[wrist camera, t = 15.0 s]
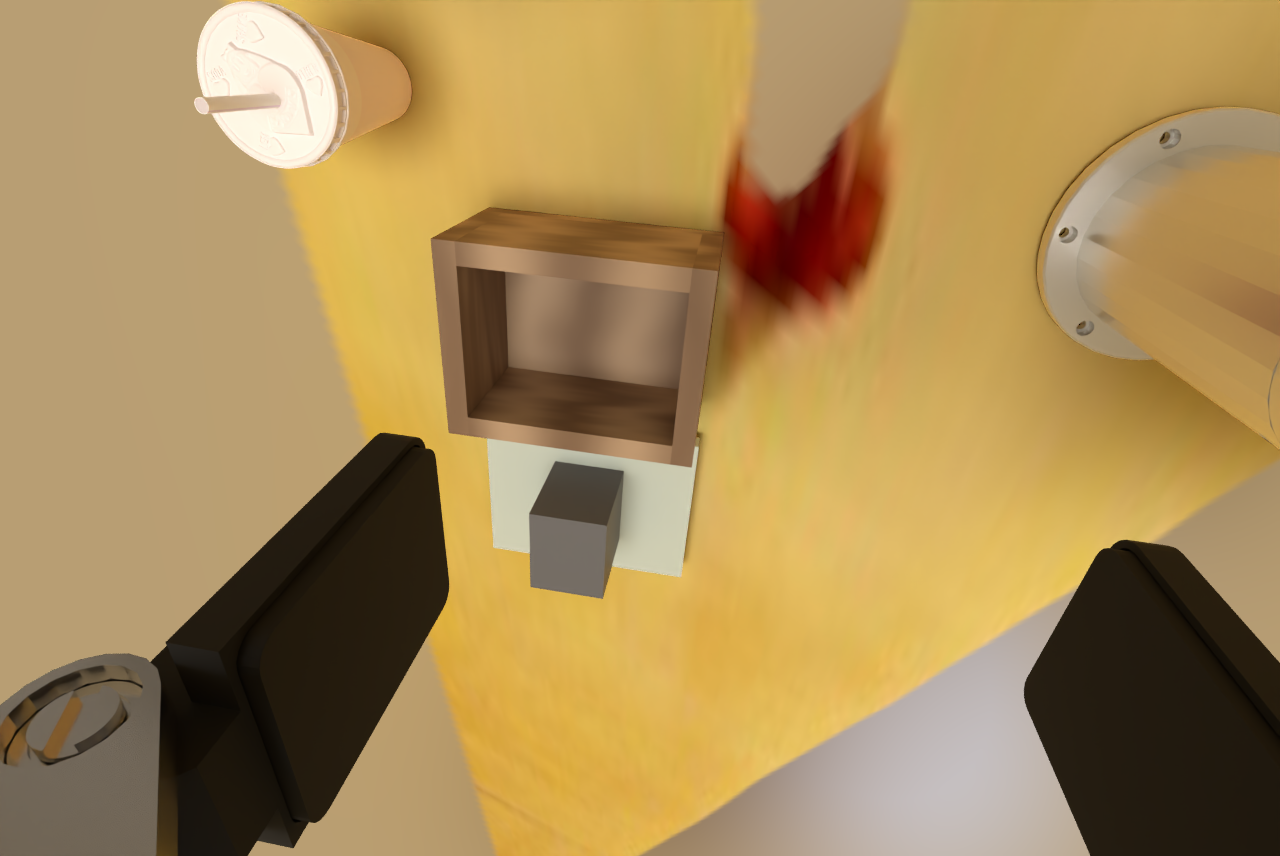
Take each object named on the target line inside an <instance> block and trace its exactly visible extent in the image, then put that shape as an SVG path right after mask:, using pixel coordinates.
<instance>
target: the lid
mask: <svg viewBox="0 0 1280 856" xmlns="http://www.w3.org/2000/svg"><path fill="white" fill-rule="evenodd" d="M699 442H700V438H698V437H696V442H695V449H694V456H693V463H692V468H691V467H684V466H677V465H670V464H663V463H656V462H649V461H642V460H635V459H628V458H621V457H614V456H607V455H600V454H593V453H586V452H579V451H572V450H565V449H558V448H551V447H544V446H537V445H530V444H523V443H516V442H509V441H502V440H495V439H488V438H487V446H488V463H489V479H490V496H491V513H492V529H493V546H494V548H499V549H506V550H512V551H518V552H525V553H530V579H531V587H534V588H540V589H547V590H553V591H559V592H565V593H571V594H577V595H583V596H589V597H596V598H602V599H603V596H604V593H605V589H606V585H607V582H608V578H609V574H610V571H611V567H612V566H613V567H619V568H626V569H632V570H638V571H645V572H651V573H657V574H664V575H670V576H676V577H681V574H682V566H683V559H684V552H685V544H686V537H687V530H688V523H689V515H690V508H691V501H692V494H693V486H694V479H695V472H696V464H697V457H698V450H699Z"/></svg>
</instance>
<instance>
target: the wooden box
mask: <svg viewBox="0 0 1280 856" xmlns="http://www.w3.org/2000/svg"><path fill="white" fill-rule="evenodd" d="M723 239H724V233H722V232H713V231H704V230H695V229H685V228H676V227H667V226H657V225H648V224H639V223H629V222H620V221H611V220H601V219H592V218H583V217H573V216H564V215H555V214H545V213H536V212H527V211H517V210H508V209H499V208H490V207H489V208H487V209H485V210H483V211H481V212H480V213H478V214H476V215H474V216H472V217H470V218H468V219H467V220H465V221H463V222H461V223H459V224H457V225H455V226H453V227H452V228H450V229H448V230H446V231H444V232H442V233H440V234H439V235H437V236H435V237H433V238H431V247H432V258H433V268H434V279H435V290H436V300H437V311H438V322H439V333H440V343H441V354H442V365H443V376H444V386H445V397H446V408H447V419H448V429H449V433H453V434H460V435H467V436H474V437H481V438H488V439H495V440H502V441H509V442H516V443H523V444H530V445H537V446H544V447H551V448H558V449H565V450H572V451H579V452H586V453H593V454H600V455H607V456H614V457H621V458H628V459H635V460H642V461H649V462H656V463H663V464H670V465H677V466H684V467H691V468H692V463H693V456H694V449H695V442H696V435H697V429H698V422H699V415H700V408H701V402H702V394H703V387H704V379H705V372H706V365H707V357H708V350H709V342H710V335H711V328H712V320H713V313H714V305H715V298H716V291H717V283H718V276H719V269H720V261H721V254H722V246H723Z"/></svg>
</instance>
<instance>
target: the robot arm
mask: <svg viewBox="0 0 1280 856" xmlns="http://www.w3.org/2000/svg"><path fill="white" fill-rule="evenodd" d="M1163 133H1165V138H1164V139H1163V140H1162V141H1161V142H1159V141H1160V138H1161V136H1162V135H1163ZM1064 228H1066V230H1065V232H1064V234H1062V235H1060V236H1059V233H1060V232H1061V230H1062V229H1064ZM1037 281H1038V286H1039V291H1040V295H1041V299H1042V301H1043V303H1044V305H1045V308H1046V310H1047V312H1048V314H1049V316H1050V317H1051V318H1052V319H1053V320H1054V322H1055V323H1056V324H1057V325H1058V326H1059V328H1060V329H1061V330H1062V331H1063V332H1064V333H1066V334H1067V335H1068V336H1069V337H1070V338H1071V339H1073V340H1074V341H1075V342H1077V343H1079V344H1081V345H1083V346H1084V347H1086V348H1088V349H1090V350H1091V351H1093V352H1097V353H1100V354H1103V355H1106V356H1109V357H1113V358H1120V359H1128V360H1156V361H1158V362H1159V363H1160V364H1162V365H1163V366H1165V367H1166V368H1167V369H1169V370H1170V371H1171V372H1173V373H1174V374H1176V375H1177V376H1178V377H1180V378H1181V379H1182V380H1184V381H1185V382H1187V383H1188V384H1189V385H1191V386H1192V387H1194V388H1195V389H1196V390H1198V391H1199V392H1200V393H1202V394H1203V395H1205V396H1206V397H1207V398H1209V399H1210V400H1212V401H1213V402H1214V403H1216V404H1217V405H1218V406H1220V407H1221V408H1223V409H1224V410H1225V411H1227V412H1228V413H1229V414H1231V415H1232V416H1234V417H1235V418H1236V419H1238V420H1239V421H1241V422H1242V423H1243V424H1245V425H1246V426H1247V427H1249V428H1250V429H1252V430H1253V431H1254V432H1256V433H1257V434H1259V435H1260V436H1261V437H1263V438H1264V439H1265V440H1267V441H1268V442H1270V443H1271V444H1273V445H1274V446H1275V447H1277V448H1278V449H1279V450H1280V115H1279V114H1277V113H1273V112H1268V111H1263V110H1258V109H1252V108H1242V107H1215V108H1205V109H1196V110H1192V111H1188V112H1184V113H1181V114H1177V115H1174V116H1170V117H1167V118H1164V119H1162V120H1159V121H1157V122H1155V123H1153V124H1150V125H1148V126H1146V127H1144V128H1142V129H1139V130H1137V131H1135V132H1134V133H1132V134H1131V135H1129V136H1128V137H1126V138H1124V139H1123V140H1121V141H1120V142H1118V143H1117V144H1115V145H1113V146H1112V147H1110V148H1109V149H1108V150H1107V151H1105V152H1104V153H1103V154H1102V155H1101V156H1100V157H1098V158H1097V159H1096V160H1095V161H1094V162H1093V163H1091V164H1090V165H1089V166H1088V167H1087V168H1086V169H1085V170H1084V171H1083V172H1082V173H1081V175H1080V176H1079V177H1078V178H1077V179H1076V180H1075V181H1074V182H1073V184H1072V185H1071V186H1070V187H1069V188H1068V189H1067V191H1066V192H1065V194H1064V196H1063V197H1062V199H1061V200H1060V202H1059V203H1058V205H1057V206H1056V208H1055V209H1054V211H1053V213H1052V215H1051V217H1050V220H1049V222H1048V224H1047V227H1046V229H1045V231H1044V234H1043V236H1042V241H1041V245H1040V249H1039V254H1038V260H1037ZM1081 322H1082V324H1081V325H1079V324H1080V323H1081ZM1078 325H1079V326H1078ZM448 592H449V576H448V567H447V558H446V549H445V539H444V530H443V521H442V512H441V502H440V493H439V484H438V475H437V465H436V458H435V454H434V452H433V451H432V450H431V449H426V448H425V444H424V442H423V441H422V440H421V439H420V438H417V437H410V436H404V435H397V434H390V433H380V434H378V435H377V436H375V437H374V438H373V439H372V440H371V441H370V442H369V443H368V444H367V445H366V446H365V447H364V448H363V449H362V450H361V451H360V452H359V453H358V454H357V455H356V456H355V457H354V458H353V459H352V460H351V461H350V462H349V463H348V464H347V465H346V466H345V467H344V468H343V469H342V470H341V471H340V472H339V473H338V474H337V475H335V476H334V477H333V478H332V479H331V480H330V481H329V482H328V483H327V485H326V486H324V487H323V488H322V489H321V490H320V491H319V492H318V493H317V494H316V495H315V496H314V497H313V498H312V499H311V500H310V501H309V502H308V503H307V504H306V505H305V506H304V507H303V508H302V509H301V510H300V511H299V512H298V513H297V514H296V515H295V516H294V517H293V518H292V519H291V520H290V521H289V522H288V523H287V524H286V525H285V526H284V527H283V528H282V529H281V530H280V531H278V533H276V534H275V535H274V536H273V537H272V538H271V539H270V540H269V541H268V542H267V543H266V544H265V545H264V546H263V547H262V548H261V549H260V550H259V551H258V552H257V553H256V554H255V555H254V556H253V557H252V558H251V559H250V560H249V561H248V562H247V563H246V564H245V565H244V566H243V567H242V568H241V569H240V570H239V571H238V572H237V573H236V574H235V575H234V576H233V577H232V578H231V579H230V580H229V581H228V582H227V583H226V584H225V585H224V586H223V587H222V588H220V589H219V591H217V592H216V594H214V595H213V596H212V597H211V598H210V599H209V601H207V602H206V603H205V604H204V605H203V606H202V607H201V608H200V609H199V610H198V611H197V612H196V613H195V614H194V615H193V616H192V617H191V618H190V619H189V620H188V621H187V622H186V623H185V624H184V625H183V626H182V627H181V628H180V629H179V630H178V631H177V632H176V633H175V634H174V635H173V636H172V637H171V638H170V639H169V640H168V641H167V642H166V644H167V646H166V647H165V648H164V649H163V650H162V651H161V652H160V653H159V654H158V655H157V656H156V657H155V658H154V659H153V660H152V661H151V662H149V661H148V660H147V659H146V658H142V657H139V656H135V655H132V654H103V655H99V656H94V657H89V658H85V659H80V660H78V661H75V662H73V663H70V664H67V665H65V666H62V667H59V668H57V669H54V670H52V671H50V672H48V673H47V674H45V675H43V676H41V677H40V678H38V679H36V680H34V681H32V682H31V683H29V684H27V685H25V686H24V687H23V688H21V689H20V690H19V691H18V692H16V693H15V694H14V695H12V696H11V697H10V698H9V699H7V700H6V701H5V702H3V703H2V704H1V705H0V856H248V854H249V853H250V851H251V849H252V848H253V846H254V845H255V843H256V842H257V841H262V842H266V843H271V844H276V845H280V846H285V847H290V848H294V846H295V845H296V843H297V841H298V839H299V838H300V836H301V834H302V832H303V831H304V829H305V828H306V826H307V824H308V823H309V822H312V823H316V822H318V821H320V820H321V819H322V817H323V816H324V815H325V814H326V813H327V811H328V809H329V808H330V806H331V805H332V803H333V801H334V799H335V798H336V796H337V794H338V792H339V791H340V789H341V787H342V785H343V784H344V782H345V780H346V778H347V776H348V775H349V773H350V771H351V769H352V768H353V766H354V764H355V762H356V761H357V759H358V757H359V755H360V754H361V752H362V750H363V748H364V747H365V745H366V743H367V741H368V740H369V738H370V736H371V734H372V733H373V731H374V729H375V727H376V725H377V724H378V722H379V720H380V718H381V717H382V715H383V713H384V711H385V710H386V708H387V706H388V704H389V703H390V701H391V699H392V697H393V696H394V694H395V692H396V690H397V689H398V687H399V685H400V683H401V681H402V680H403V678H404V676H405V675H406V673H407V671H408V669H409V667H410V666H411V664H412V662H413V660H414V659H415V657H416V655H417V653H418V652H419V650H420V648H421V646H422V645H423V643H424V641H425V639H426V638H427V636H428V634H429V632H430V631H431V629H432V627H433V625H434V624H435V622H436V620H437V618H438V617H439V615H440V613H441V611H442V610H443V608H444V605H445V603H446V600H447V597H448ZM1024 698H1025V704H1026V707H1027V709H1028V712H1029V714H1030V716H1031V719H1032V721H1033V723H1034V726H1035V728H1036V730H1037V732H1038V735H1039V737H1040V739H1041V742H1042V744H1043V747H1044V749H1045V751H1046V753H1047V756H1048V758H1049V761H1050V763H1051V765H1052V767H1053V770H1054V772H1055V774H1056V777H1057V779H1058V781H1059V783H1060V786H1061V788H1062V790H1063V793H1064V795H1065V798H1066V800H1067V802H1068V805H1069V807H1070V809H1071V812H1072V814H1073V816H1074V819H1075V821H1076V823H1077V826H1078V828H1079V830H1080V833H1081V835H1082V837H1083V840H1084V842H1085V844H1086V846H1087V849H1088V851H1089V853H1090V856H1280V663H1279V661H1278V660H1277V659H1276V658H1275V657H1274V656H1273V655H1272V654H1271V652H1270V651H1269V650H1268V649H1267V648H1266V647H1265V646H1264V645H1263V643H1262V642H1261V641H1260V640H1259V639H1258V638H1257V637H1256V636H1255V634H1254V633H1253V632H1252V631H1251V630H1250V629H1249V628H1248V627H1247V626H1246V624H1245V623H1244V622H1243V621H1242V620H1241V619H1240V618H1239V617H1238V615H1237V614H1236V613H1235V612H1234V611H1233V610H1232V609H1231V607H1230V606H1229V605H1228V604H1227V603H1226V602H1225V601H1224V600H1223V598H1222V597H1221V596H1220V595H1219V594H1218V593H1217V592H1216V591H1215V589H1214V588H1213V587H1212V586H1211V585H1210V584H1209V583H1208V582H1207V580H1205V578H1204V577H1203V576H1202V575H1201V574H1200V573H1199V571H1198V570H1196V568H1195V567H1194V566H1193V565H1192V564H1191V562H1190V561H1189V560H1188V559H1187V558H1186V557H1185V556H1184V554H1182V553H1181V552H1180V551H1179V550H1178V549H1176V548H1174V547H1170V546H1165V545H1159V544H1152V543H1145V542H1138V541H1131V540H1121V541H1118V542H1117V543H1115V544H1114V545H1113V546H1112V547H1111V548H1106V549H1103V550H1101V551H1100V552H1099V553H1098V554H1097V556H1096V557H1095V559H1094V561H1093V562H1092V564H1091V566H1090V568H1089V569H1088V571H1087V573H1086V575H1085V576H1084V578H1083V580H1082V582H1081V583H1080V585H1079V587H1078V589H1077V591H1076V592H1075V594H1074V596H1073V598H1072V599H1071V601H1070V603H1069V605H1068V607H1067V608H1066V610H1065V612H1064V614H1063V615H1062V617H1061V619H1060V621H1059V622H1058V624H1057V626H1056V628H1055V630H1054V631H1053V633H1052V635H1051V636H1050V638H1049V640H1048V642H1047V644H1046V645H1045V647H1044V649H1043V651H1042V652H1041V654H1040V656H1039V658H1038V659H1037V661H1036V663H1035V665H1034V667H1033V668H1032V670H1031V672H1030V674H1029V675H1028V677H1027V679H1026V682H1025V687H1024Z"/></svg>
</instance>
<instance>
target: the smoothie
mask: <svg viewBox="0 0 1280 856" xmlns="http://www.w3.org/2000/svg"><path fill="white" fill-rule="evenodd" d="M197 70H198V77H199V82H200V86H201V89H202V93H203V96H204V97H199V98H196V99H195V107H196V109H197V110H198V111H199V112H200V113H202V114H212V115H213V117H214V118H215V120H216V121H217V123H218V124H219V126H220V127H221V129H222V130H223V131H224V133H225V134H226V135H227V136H228V137H229V138H230V139H231V140H232V141H233V142H234V143H235V144H236V145H237V146H238V147H239V148H240V149H242V150H243V151H244V152H245V153H247V154H248V155H250V156H251V157H253V158H255V159H257V160H258V161H260V162H263V163H265V164H267V165H271V166H274V167H279V168H299V167H307V166H314V165H316V164H318V163H320V162H323V161H325V160H327V159H328V158H329V157H330V156H331V155H332V154H333V153H334V152H335V151H336V150H337V149H338V148H339V146H341V145H342V144H345V143H347V142H349V141H351V140H353V139H355V138H357V137H360V136H362V135H364V134H366V133H368V132H370V131H372V130H375V129H377V128H379V127H381V126H383V125H385V124H387V123H390V122H392V121H394V120H396V119H398V118H400V117H401V116H402V115H403V114H404V113H405V112H406V111H407V109H408V107H409V105H410V102H411V97H412V86H411V81H410V77H409V74H408V72H407V70H406V68H405V66H404V65H403V63H402V62H401V61H400V59H399V58H398V57H397V56H396V55H395V54H393V53H392V52H391V51H389V50H387V49H385V48H382V47H379V46H376V45H373V44H370V43H367V42H364V41H361V40H358V39H355V38H352V37H349V36H346V35H343V34H340V33H337V32H334V31H331V30H328V29H325V28H322V27H319V26H316V25H313V24H310V23H308V22H307V21H306V20H304V19H303V18H302V17H301V16H300V15H299V14H297V13H295V12H293V11H291V10H289V9H287V8H285V7H283V6H281V5H278V4H273V3H268V2H262V1H256V2H237V3H232V4H229V5H227V6H225V7H223V8H221V9H219V10H218V11H217V12H216V13H214V14H213V15H212V16H211V18H210V19H209V20H208V21H207V23H206V25H205V27H204V28H203V31H202V33H201V36H200V39H199V44H198V50H197Z"/></svg>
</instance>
